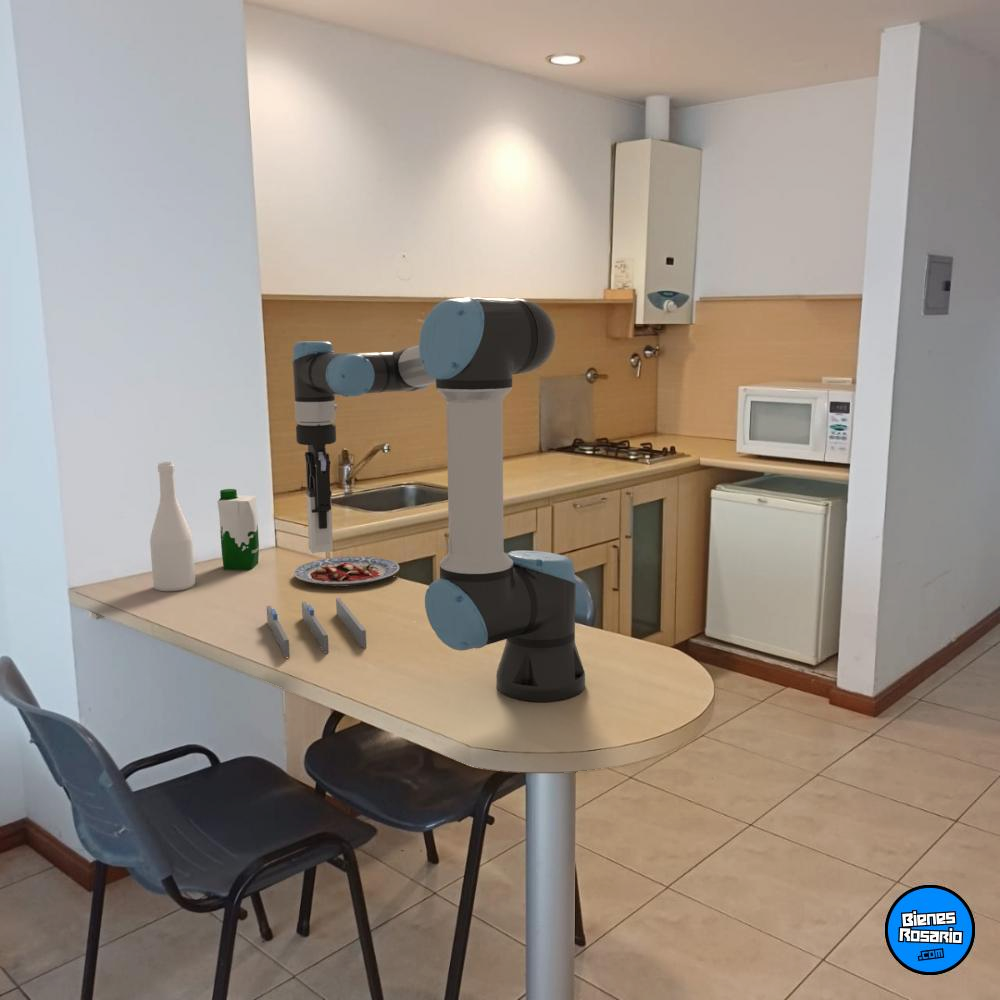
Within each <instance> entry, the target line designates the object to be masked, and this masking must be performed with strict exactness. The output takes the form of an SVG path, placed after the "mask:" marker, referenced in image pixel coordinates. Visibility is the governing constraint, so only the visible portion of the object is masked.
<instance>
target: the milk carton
mask: <svg viewBox="0 0 1000 1000" xmlns="http://www.w3.org/2000/svg"><path fill="white" fill-rule="evenodd" d="M219 492H220V493H219V494H220V498H219V499H218V500H217V509H218V517H219V532H220V534H219V535H220V543H221V544H220V545H221V546H220V547H221V559H222V567H223V570H224V571H227V570H228V571H241V570H243V571H248V570H250V571H251V570H252V569H253V568H255V567H256V566H257V565H258V564H259V556H260V553H259V551H260V542H259V540H260V539H259V526H258V525H259V524H258V522H259V521H258V507H257V496H256V495H246V494H244V495H243V494H242V495H238V494H237V489H236V488H235V489H234V488H226V489H225V488H224V489H221V490H220V491H219Z"/></svg>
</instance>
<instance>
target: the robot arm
mask: <svg viewBox="0 0 1000 1000" xmlns="http://www.w3.org/2000/svg"><path fill="white" fill-rule="evenodd" d="M555 344H556V330H555V326H554V323H553V321H552V318H551V317H550V315H549V314H548V312H547V311H545V309H543V308H542V307H541V306H540V305H538V304H537V303H535V302H533V301H530V300H527V299H523V298H488V297H486V298H484V297H483V298H482V297H467V296H466V297H463V298H459V297H458V298H450V299H446V300H442V301H440V302H439V303H437V304H436V305H435V306H433V308H432V309H431V310H430V312H429V314H428V315H426V317H425V318H424V321H423V323H422V326H421V330H420V334H419V342H418V345H413V346H411V347H408V348H403V349H400V350H397V351H386V352H385V351H384V352H378V351H377V352H352V353H351V352H350V353H343V352H340V353H336V352H335V351H334V347H333V344H332V343H331V342H330V341H324V340H323V341H319V340H318V341H317V340H316V341H313V340H311V341H310V340H309V341H307V340H306V341H297V342H296V343H294V345H293V347H292V362H291V363H292V372H293V389H294V416H295V417H294V418H295V421H296V422H297V424H296V426H295V433H296V443H297V444H299V445H301V446H307V451H305V452H304V458H305V470H306V487H307V488H314V498H315V509H314V510H312V513H314V523H315V545H325V544H330V532H329V510H332V499H331V500H330V490H331V478H330V477H331V476H330V475H331V474H330V472H331V471H330V470H331V460H330V454H329V452H327V451H326V450H327V449H326V445H331V444H334V443H336V441H337V426H336V425H335V423H334V421H335V420H336V412H335V410H338V409H339V405H338V404H335V400H336V399H335V396H336V395H338V396H342V397H346V398H347V397H358V396H362V395H364V394H377V393H380V394H381V393H388V392H389V393H392V392H414V391H418V390H424V389H426V388H427V387H428V386H430V385H433V384H435V390H436V391H437V392H438V393H439V394H440V395H441V396H442V397H444V399H445V401H446V402H445V403H446V443H447V444H446V449H447V451H446V452H447V453H446V455H447V457H446V458H447V497H448V498H447V501H448V503H447V504H448V505H447V506H448V507H447V509H448V511H447V512H448V553H447V554H446V555H445V556H444V557H443V558H442V559H441V560H440V562H439V578H438V579H435V580H434V581H432V582H431V583H430V584H429V586H428V588H427V589H426V590H425V591H426V592H425V596H424V608H425V612H426V613H425V614H426V617H427V619H428V623H429V625H430V627H431V629H432V630H433V631H434V633H435V635H436V637H437V638H438V639H439V640H440V642H442V643H443V644H444V645H445V646H447V647H449V648H451V650H452V649H453V650H455V651H459V652H460V651H468V650H472V649H482V648H483V647H485V646H488V645H491V644H494V643H498V642H501V641H504V640H506V641H505V644H504V648H503V651H502V654H501V658H500V660H499V663H498V666H497V670H496V689H498V691H499V692H500V693H502V694H504V695H505V696H506V697H507V696H508V697H510V698H513V699H517V700H521V701H529V702H555V701H561V700H567V699H569V698H573V697H575V696H577V695H579V694H580V693H582V692H583V691H584V689H585V687H586V673H585V669H584V666H583V664H582V663H583V662H582V659H581V657H580V654H579V651H578V649H577V645H576V632H575V631H576V585H577V580H576V574H575V565H574V562H573V561H572V559H570V558H569V557H567V556H565V555H563V554H557V553H554V552H548V551H547V552H546V551H540V550H539V551H538V550H511V551H509V552H507V553H505V550H504V546H505V545H504V449H503V448H504V446H503V445H504V441H503V440H504V437H503V431H504V430H503V429H504V427H503V423H504V422H503V421H504V420H503V418H504V417H503V415H504V414H503V413H504V412H503V400H504V399H505V397H506V396H507V395H508V394H509V393H510V392H511V391H512V389H513V375H519V374H527V373H531V372H532V371H535V370H537V369H539V368H540V367H542V366H543V365H544V364H546V362H547V360H548V359H549V358H550V357H551V355H552V353H553V351H554V348H555ZM307 488H306V489H307Z"/></svg>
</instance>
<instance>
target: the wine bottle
mask: <svg viewBox="0 0 1000 1000" xmlns="http://www.w3.org/2000/svg"><path fill="white" fill-rule="evenodd" d="M157 471H158V473H159V475H158V476H159V491H160V496H159V497H160V498H159V504H158V508H157V510H156V511H157V512H156V515H155V518H154V523H153V526H152V530H151V533H150V539H149V543H150V544H149V546H150V558H151V569H152V571H151V572H152V583H153V584H152V585H153V587H154V588H155V589H156V590H157V591H158V592H159V591H161V592H178V591H184V590H188V589H191V588H193V587H194V586H195V583H196V570H195V569H196V568H195V555H194V553H195V552H194V540H193V535H192V532H191V529H190V526H189V524H188V521H187V520H186V518H185V516H184V513H183V510H182V509H181V506H180V504H179V501H178V498H177V493H176V484H175V483H176V482H175V474H174V473H175V464H174V462H173V461H162V462H158V464H157Z"/></svg>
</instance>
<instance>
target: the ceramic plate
mask: <svg viewBox="0 0 1000 1000" xmlns="http://www.w3.org/2000/svg"><path fill="white" fill-rule="evenodd" d="M399 570H400V565H399V564H398V563H397V562H395V561H393V560H390V559H387V558H382V557H380V558H379V557H372V556H343V557H342V556H340V557H330V558H324V559H319V560H318V559H317V560H314V561H310V562H307V563H305V564H304V563H303V564H302V565H300V566H297V568H295V569H294V570H293V572H292V573H293V576H294V577H295V578H296V579H298V580H300V581H303V582H307V583H312V584H318V583H319V584H318V585H322V584H324V585H323V586H329V585H352V586H360V585H364V584H365V583H366V584H370V583H373V582H376V581H378V580H379V581H380V580H382V579H385V578H388V577H391V576H394V575H395V574H397V573H398V572H399ZM378 574H380V575H378ZM359 584H360V585H359Z"/></svg>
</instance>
